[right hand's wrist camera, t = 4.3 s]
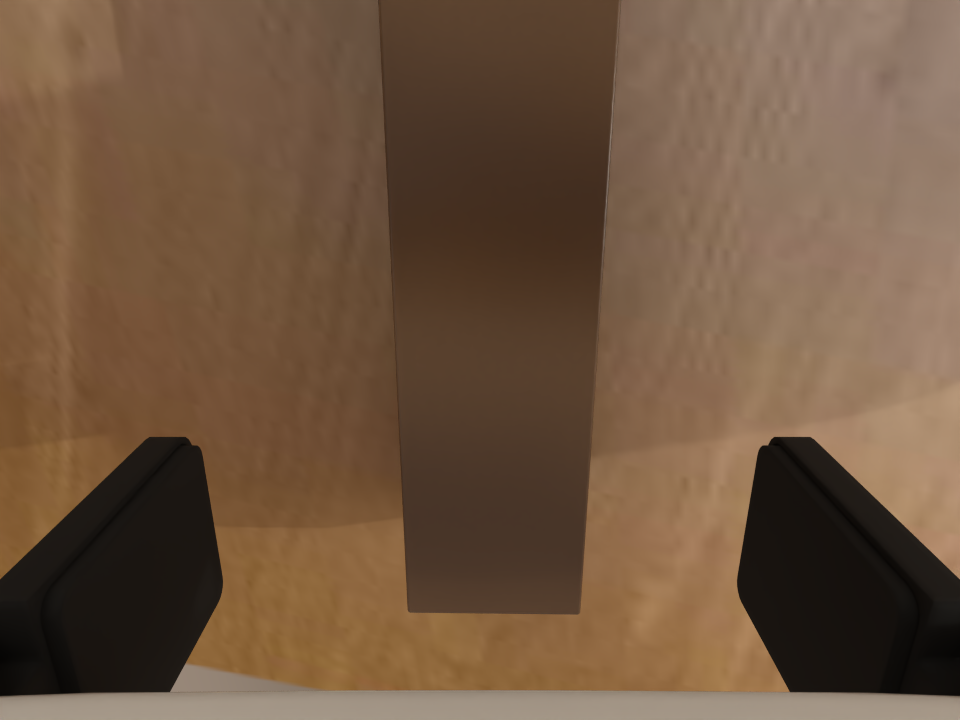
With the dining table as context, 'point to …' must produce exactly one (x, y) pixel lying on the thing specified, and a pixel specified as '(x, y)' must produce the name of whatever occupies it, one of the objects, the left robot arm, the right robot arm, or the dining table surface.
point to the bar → (497, 289)
